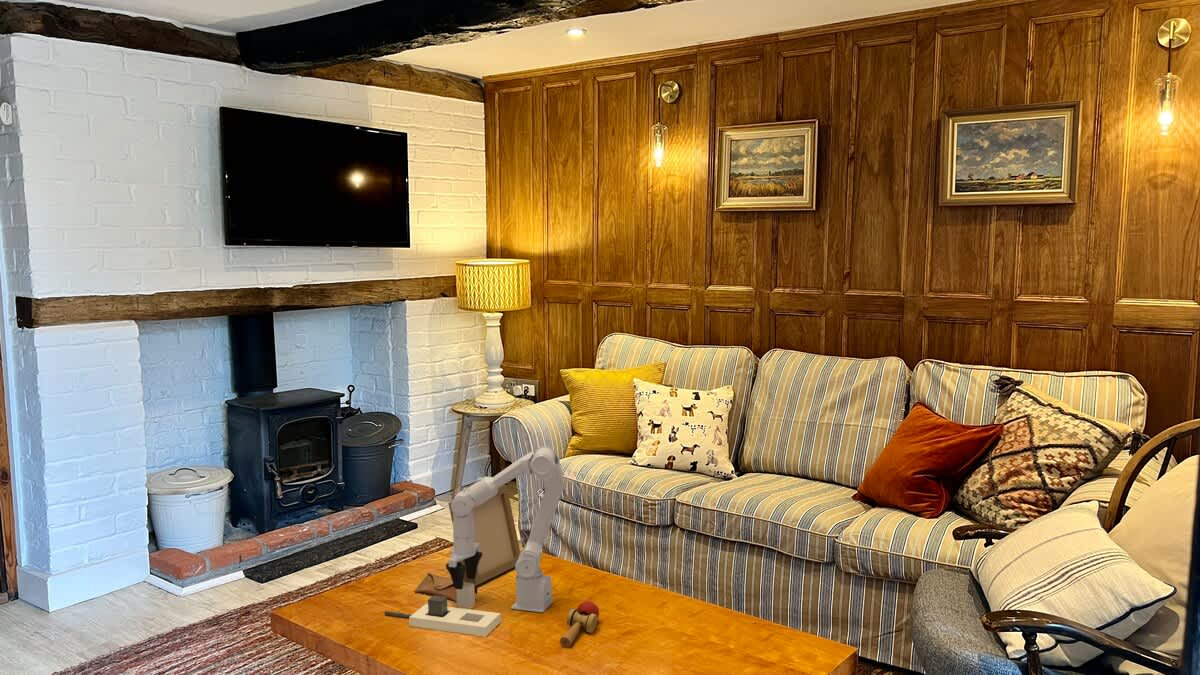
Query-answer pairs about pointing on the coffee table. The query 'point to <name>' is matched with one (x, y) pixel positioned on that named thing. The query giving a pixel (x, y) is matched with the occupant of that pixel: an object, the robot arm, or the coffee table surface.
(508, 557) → the photo frame
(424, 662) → the coffee table surface
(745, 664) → the coffee table surface
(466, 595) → the beige plug
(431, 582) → the sunglasses case
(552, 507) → the robot arm
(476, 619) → the power strip
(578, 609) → the kendama
